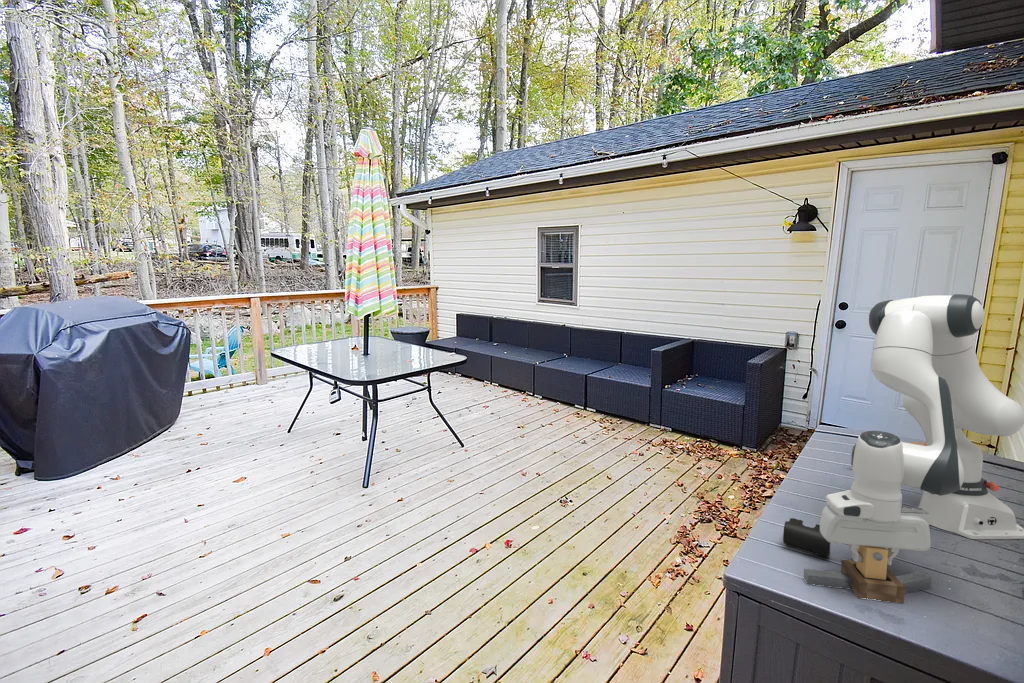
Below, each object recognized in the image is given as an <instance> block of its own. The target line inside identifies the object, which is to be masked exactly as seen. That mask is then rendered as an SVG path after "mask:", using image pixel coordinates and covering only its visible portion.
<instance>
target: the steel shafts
mask: <svg viewBox="0 0 1024 683" xmlns="http://www.w3.org/2000/svg"><path fill="white" fill-rule="evenodd" d="M894 576H895V575H894ZM803 577H804V578H803V579H805V580H806V582H807V583H806V582H805V583H806V585H807V584H815V585H822V586H821V587H824V586H831V587H830V588H833V587H842V588H850V589H849V590H851V589H852V579H851V577H850V576H849V575H848V574H847V573H841V572H838V571H829V570H819V569H817V570H816V569H809V568H803ZM895 577H896V578H897V579H898V580H899V581H900V582H901V583H902V584H903V585H904V586H905V594H906V593H907V594H908V593H912V592H917V591H923V590H927V589H931V586H932V577H930V576H929V575H927V574H925V573H923V572H921V571H916V572H911V573H907V574H901V575H896V576H895ZM805 580H804V581H805ZM815 585H814V586H815ZM823 585H824V586H823ZM842 588H841V589H842Z"/></svg>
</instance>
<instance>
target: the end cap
mask: <svg viewBox="0 0 1024 683" xmlns="http://www.w3.org/2000/svg"><path fill="white" fill-rule="evenodd" d="M782 539H783V541H782V542H783V544H785V545H786V546H787V547H790V548H794V549H797V550H801V551H804V552H806V553H811V554H815V555H817V556H820V557H824V558H828V557H830V556H831V544H832V543H831V542H828V541H827V540H826V539H825V538H824V537H823V536H822V534H821V533H820V523H819V524H818V523H816V524H815V526H814V527H810V526H805V525H804V521H803V520H801V519H797V518H794V517H790V518H789V520H788V521H787V520H785V522H784V526H783V534H782Z"/></svg>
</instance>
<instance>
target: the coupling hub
mask: <svg viewBox="0 0 1024 683" xmlns="http://www.w3.org/2000/svg"><path fill="white" fill-rule="evenodd" d="M840 573H847V574H848V575H849V576H850V577H851V579H852V590H853V591H854V592H853V591H852V592H853V593H854V595H855V594H856V595H857V596H856V595H855V596H856V597H857V598H858V599H859V598H866V599H867V598H868V599H876V600H881V601H880V602H883V601H890V602H889V603H892V602H898V603H897V604H900V603H904V604H905V594H906V593H905V586H904V585H903V584H902V583H901V582H900V581H899V580H898V579H897V578H896V577H895V574H894V573H893V572H892V571H891V570H890V569H889V567H887V573H886V580H883V579H873V578H865V577H864V576H863V574H862V573H861V572H860V571H859V570H858V568H857V567H856V562H855V561H854V560H853V559H844V558H842V559H841V561H840Z"/></svg>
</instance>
